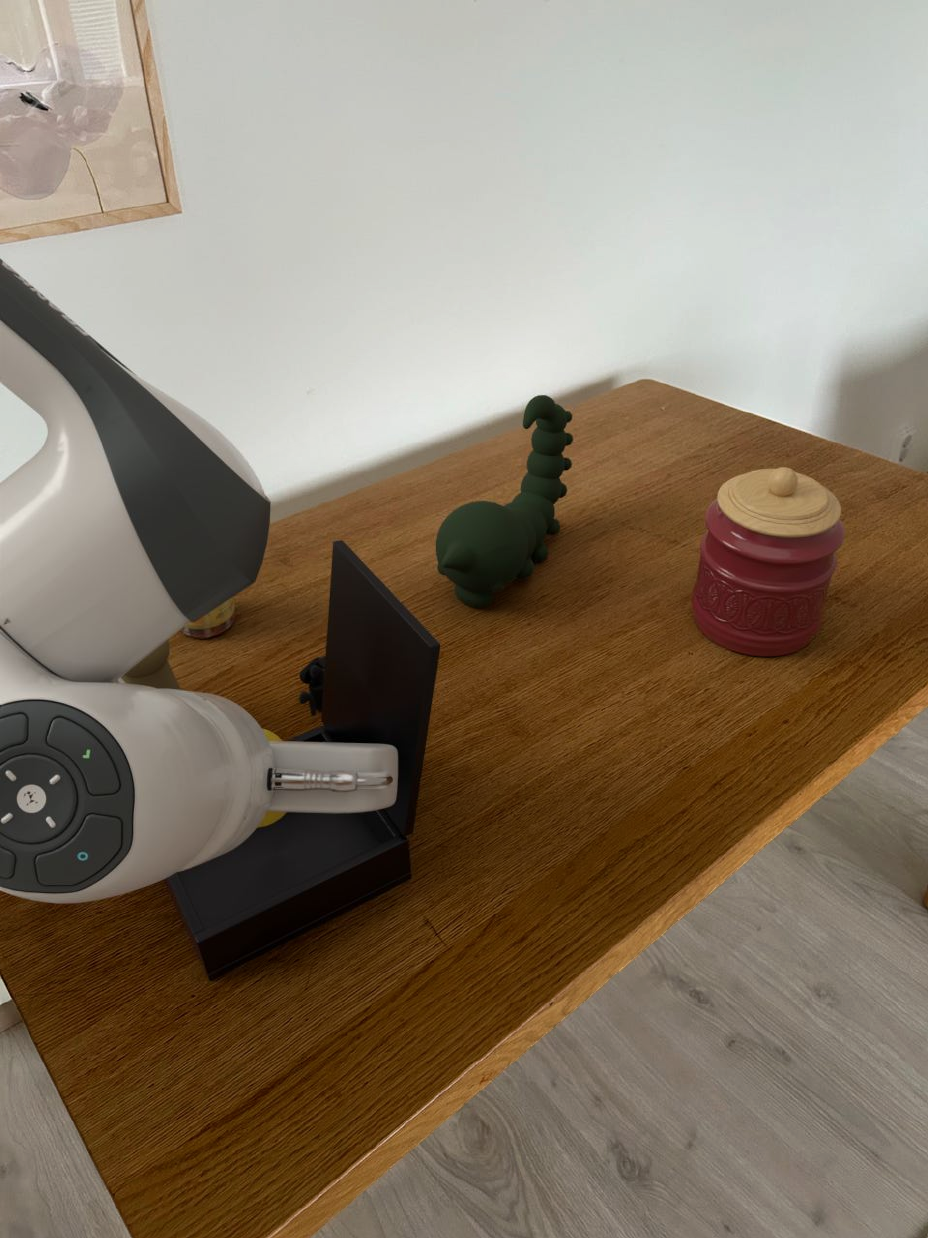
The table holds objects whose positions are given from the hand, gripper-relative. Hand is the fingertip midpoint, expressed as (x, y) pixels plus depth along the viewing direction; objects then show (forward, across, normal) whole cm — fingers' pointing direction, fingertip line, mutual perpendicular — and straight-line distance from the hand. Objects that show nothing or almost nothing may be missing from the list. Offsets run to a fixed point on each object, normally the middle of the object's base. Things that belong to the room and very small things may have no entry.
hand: (254, 767), depth 64 cm
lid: (+9, -6, -6) cm, 12 cm away
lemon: (+3, 0, +4) cm, 5 cm away
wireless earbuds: (+29, +2, -5) cm, 29 cm away
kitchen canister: (+39, -41, -15) cm, 58 cm away
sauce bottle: (+36, +15, -13) cm, 42 cm away
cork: (+26, +16, -2) cm, 30 cm away
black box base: (+15, +2, +8) cm, 17 cm away
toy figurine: (+44, -15, -20) cm, 51 cm away
